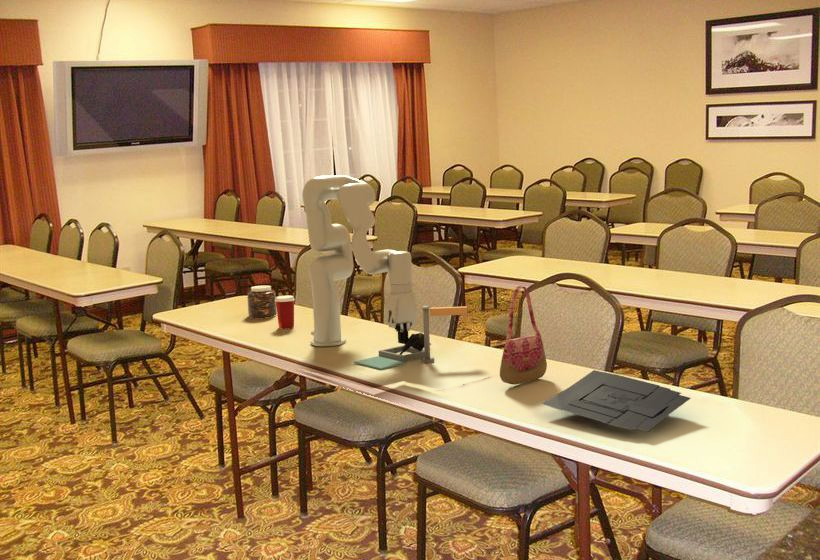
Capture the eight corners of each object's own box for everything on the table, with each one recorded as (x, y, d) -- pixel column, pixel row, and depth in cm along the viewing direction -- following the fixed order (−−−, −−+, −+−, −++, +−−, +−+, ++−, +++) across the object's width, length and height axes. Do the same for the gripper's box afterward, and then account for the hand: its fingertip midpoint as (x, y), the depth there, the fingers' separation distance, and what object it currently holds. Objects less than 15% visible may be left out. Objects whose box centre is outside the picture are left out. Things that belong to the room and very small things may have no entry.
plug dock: (378, 356, 291) (376, 305, 289) (403, 351, 298) (401, 300, 296) (417, 365, 276) (415, 311, 274) (443, 359, 283) (441, 306, 281)
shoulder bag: (506, 387, 246) (504, 290, 242) (499, 385, 248) (497, 289, 244) (547, 376, 256) (545, 283, 252) (540, 375, 258) (538, 282, 255)
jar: (278, 318, 371) (276, 284, 369) (275, 324, 359) (273, 288, 357) (250, 320, 370) (248, 285, 368) (247, 325, 358) (244, 289, 356)
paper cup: (300, 330, 342) (298, 295, 340) (287, 334, 335) (285, 298, 333) (285, 329, 346) (283, 294, 344) (272, 333, 340) (270, 297, 338)
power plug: (398, 348, 293) (416, 326, 286) (417, 358, 294) (435, 336, 288) (396, 360, 288) (414, 337, 281) (416, 369, 290) (434, 347, 283)
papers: (643, 445, 203) (642, 431, 202) (541, 413, 224) (540, 400, 223) (695, 404, 219) (695, 391, 217) (595, 378, 240) (594, 366, 239)
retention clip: (467, 319, 280) (466, 304, 280) (467, 321, 278) (467, 305, 277) (422, 321, 280) (421, 306, 280) (422, 323, 278) (421, 307, 277)
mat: (354, 363, 283) (354, 361, 283) (378, 358, 289) (378, 356, 289) (381, 370, 272) (380, 368, 272) (405, 364, 279) (405, 362, 278)
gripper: (411, 284, 294) (413, 338, 297) (376, 290, 285) (378, 345, 287) (425, 286, 289) (427, 340, 291) (390, 292, 279) (393, 348, 282)
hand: (403, 342), depth 289 cm, fingers closed
